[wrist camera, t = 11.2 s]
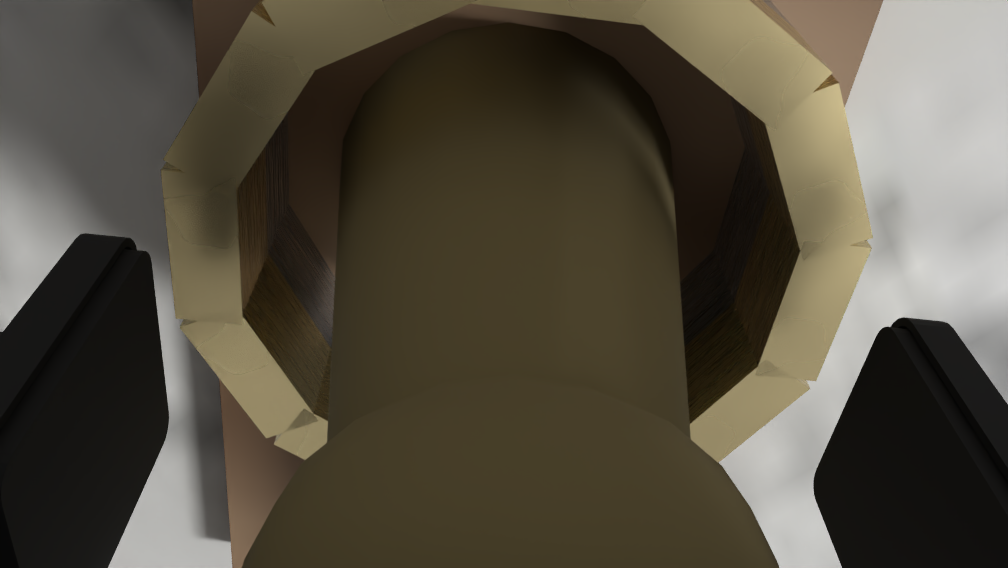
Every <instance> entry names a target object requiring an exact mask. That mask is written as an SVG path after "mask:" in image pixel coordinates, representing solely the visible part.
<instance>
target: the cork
mask: <svg viewBox="0 0 1008 568" xmlns="http://www.w3.org/2000/svg"><path fill="white" fill-rule="evenodd" d="M242 568H779V566H778V563H777V560H776V558H775V556H774V554H773V552H772V550H771V548H770V546H769V544H768V542H767V540H766V538H765V536H764V534H763V532H762V530H761V528H760V526H759V524H758V522H757V520H756V518H755V516H754V514H753V512H752V510H751V508H750V506H749V505H748V503H747V502H746V500H745V499H744V498H743V496H742V495H741V493H740V492H739V490H738V489H737V487H736V486H735V484H734V483H733V482H732V480H731V479H730V477H729V476H728V474H727V473H726V471H725V470H724V469H723V467H722V466H721V465H720V464H719V463H718V462H717V461H715V460H714V459H713V458H712V457H711V456H710V455H708V454H707V453H706V452H705V451H704V450H703V449H701V448H700V447H699V446H698V445H697V444H696V443H694V442H693V441H692V440H691V436H690V421H689V407H688V392H687V377H686V363H685V348H684V334H683V319H682V305H681V290H680V276H679V261H678V247H677V232H676V218H675V203H674V189H673V174H672V160H671V145H670V140H669V138H668V136H667V133H666V131H665V129H664V126H663V124H662V122H661V119H660V117H659V114H658V112H657V110H656V107H655V105H654V103H653V100H652V98H651V96H650V95H649V94H648V93H647V92H646V91H645V90H644V89H643V88H642V87H641V85H640V84H639V83H638V82H637V81H636V80H635V79H634V78H633V77H632V76H631V75H630V74H629V73H628V71H627V70H626V69H625V68H624V67H623V66H622V65H621V64H620V63H619V62H618V61H617V60H616V59H615V58H614V57H612V56H610V55H608V54H606V53H604V52H603V51H601V50H599V49H597V48H595V47H593V46H591V45H589V44H587V43H586V42H584V41H582V40H580V39H578V38H576V37H574V36H572V35H570V34H569V33H567V32H563V31H557V30H551V29H545V28H539V27H533V26H527V25H521V24H516V23H510V22H508V23H501V24H494V25H487V26H481V27H474V28H467V29H460V30H453V31H450V32H448V33H446V34H444V35H442V36H440V37H438V38H436V39H434V40H432V41H430V42H428V43H426V44H424V45H422V46H420V47H418V48H416V49H414V50H412V51H410V52H408V53H406V54H404V55H402V56H401V57H400V58H399V59H398V60H397V61H396V62H395V63H394V64H393V65H392V66H391V67H390V68H389V69H388V70H387V71H386V72H385V73H384V74H383V75H382V76H381V77H380V78H379V79H378V80H377V81H376V82H375V83H374V84H373V85H372V86H371V87H370V88H369V89H368V90H367V91H366V92H365V93H364V95H363V97H362V99H361V102H360V104H359V106H358V108H357V110H356V112H355V115H354V117H353V119H352V121H351V123H350V125H349V128H348V130H347V132H346V134H345V136H344V139H343V150H342V163H341V176H340V191H339V211H338V231H337V251H336V270H335V290H334V310H333V330H332V350H331V370H330V390H329V410H328V430H327V443H326V444H325V445H323V446H322V447H321V448H320V449H318V450H317V451H316V452H315V453H313V454H312V455H311V456H310V457H308V458H307V459H306V460H305V461H303V462H302V464H301V465H300V467H299V468H298V470H297V471H296V473H295V474H294V476H293V477H292V479H291V480H290V482H289V483H288V485H287V486H286V488H285V489H284V491H283V492H282V494H281V495H280V497H279V498H278V500H277V501H276V503H275V504H274V506H273V508H272V510H271V512H270V513H269V515H268V517H267V519H266V521H265V523H264V524H263V526H262V528H261V530H260V532H259V533H258V535H257V537H256V539H255V541H254V543H253V544H252V546H251V548H250V550H249V552H248V554H247V555H246V557H245V559H244V562H243V566H242Z"/></svg>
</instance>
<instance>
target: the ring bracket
mask: <svg viewBox="0 0 1008 568" xmlns="http://www.w3.org/2000/svg"><path fill="white" fill-rule="evenodd" d="M468 4H478V5H486V6H494V7H502V8H510V9H518V10H526V11H534V12H542V13H550V14H558V15H566V16H574V17H582V18H590V19H598V20H606V21H614V22H622V23H629V24H637V25H644V26H645V27H646V28H648V29H649V30H650V31H651V32H652V33H654V34H655V35H656V36H657V37H659V38H660V39H661V40H662V41H664V42H665V43H666V44H667V45H669V46H670V47H671V48H672V49H674V50H675V51H676V52H677V53H679V54H680V55H681V56H682V57H684V58H685V59H686V60H687V61H688V62H690V63H691V64H692V65H693V66H695V67H696V68H697V69H698V70H700V71H701V72H702V73H703V74H705V75H706V76H707V77H708V78H710V79H711V80H712V81H713V82H715V83H716V84H717V85H718V86H720V87H721V88H722V89H723V90H724V91H726V92H727V93H728V94H729V95H730V98H731V102H732V105H733V108H734V112H735V115H736V119H737V122H738V125H739V129H740V132H741V136H742V139H743V142H744V146H745V148H744V151H743V154H742V158H741V161H740V164H739V168H738V171H737V174H736V178H735V181H734V184H733V188H732V191H731V194H730V197H729V201H728V204H727V207H726V211H725V214H724V217H723V221H722V224H721V227H720V231H719V234H718V237H717V240H716V244H715V247H714V250H713V251H712V252H711V253H710V254H709V255H707V256H706V257H705V258H704V259H703V260H702V261H701V262H700V263H699V264H698V265H697V266H696V267H695V268H694V269H693V270H692V271H691V272H690V273H689V274H688V275H687V276H686V277H685V278H683V279H682V280H681V281H680V290H681V305H682V319H683V334H684V348H685V363H686V377H687V392H688V407H689V421H690V436H691V440H692V441H693V442H694V443H696V444H697V445H698V446H699V447H700V448H701V449H703V450H704V451H705V452H706V453H707V454H708V455H710V456H711V457H712V458H713V459H714V460H715V461H717V462H720V461H721V460H722V459H723V458H725V457H726V456H727V455H728V454H729V453H731V452H732V451H733V450H734V449H736V448H737V447H738V446H739V445H741V444H742V443H743V442H744V441H746V440H747V439H748V438H749V437H751V436H752V435H753V434H754V433H756V432H757V431H758V430H759V429H761V428H762V427H763V426H764V425H766V424H767V423H768V422H769V421H770V420H772V419H773V418H774V417H775V416H777V415H778V414H779V413H780V412H782V411H783V410H784V409H785V408H787V407H788V406H789V405H790V404H792V403H793V402H794V401H795V400H797V399H798V398H799V397H800V396H802V395H803V394H804V393H805V392H807V391H808V390H809V389H810V388H809V386H808V383H807V381H806V380H810V381H816V380H817V377H818V375H819V373H820V370H821V368H822V365H823V363H824V361H825V358H826V356H827V354H828V351H829V349H830V346H831V344H832V342H833V339H834V337H835V334H836V332H837V330H838V327H839V325H840V323H841V320H842V318H843V315H844V313H845V311H846V308H847V306H848V303H849V301H850V299H851V296H852V294H853V292H854V289H855V287H856V284H857V282H858V280H859V277H860V275H861V272H862V270H863V268H864V265H865V263H866V260H867V258H868V256H869V253H870V251H871V249H872V248H871V246H870V245H869V243H868V242H867V240H868V239H871V238H873V236H872V232H871V227H870V222H869V218H868V213H867V209H866V204H865V200H864V195H863V191H862V186H861V181H860V177H859V172H858V168H857V163H856V159H855V154H854V150H853V145H852V140H851V136H850V131H849V127H848V122H847V118H846V113H845V109H844V104H843V99H842V95H841V90H840V86H839V82H838V81H837V80H836V79H835V78H834V77H833V75H832V73H833V72H832V71H831V70H830V69H829V68H828V66H827V65H826V64H825V63H824V62H823V61H822V60H821V58H820V57H819V56H818V55H817V54H816V53H815V51H814V50H813V49H812V48H811V47H810V46H809V45H808V43H807V42H806V41H805V40H804V39H803V38H802V36H801V35H800V34H799V33H798V32H797V31H796V30H795V28H794V27H793V26H792V25H791V24H790V23H789V21H788V20H787V19H786V18H785V17H784V16H783V15H782V13H781V12H780V11H779V10H778V9H777V8H776V6H775V5H774V4H773V3H772V2H771V1H770V0H260V1H259V2H258V3H257V5H256V6H255V7H254V8H253V10H252V11H251V13H250V14H249V16H248V18H247V19H246V21H245V23H244V24H243V26H242V28H241V29H240V31H239V33H238V35H237V36H236V38H235V40H234V41H233V43H232V45H231V46H230V48H229V50H228V51H227V53H226V55H225V56H224V58H223V60H222V61H221V63H220V65H219V66H218V68H217V70H216V71H215V73H214V75H213V76H212V78H211V80H210V81H209V83H208V85H207V87H206V88H205V90H204V92H203V93H202V95H201V97H200V98H199V100H198V102H197V103H196V105H195V107H194V108H193V110H192V112H191V113H190V115H189V117H188V118H187V120H186V122H185V123H184V125H183V127H182V128H181V130H180V132H179V134H178V135H177V137H176V139H175V140H174V142H173V144H172V145H171V147H170V149H169V150H168V152H167V154H166V155H165V157H164V159H163V160H164V161H166V164H165V165H164V166H163V168H162V169H161V179H162V188H163V198H164V208H165V218H166V228H167V237H168V247H169V257H170V267H171V277H172V287H173V296H174V306H175V316H176V319H184V320H183V322H182V324H181V326H180V329H181V330H182V331H183V333H184V334H185V335H186V336H187V338H188V339H189V340H190V341H191V343H192V344H193V345H194V347H195V348H196V349H197V350H198V352H199V353H200V354H201V356H202V357H203V358H204V359H205V361H206V362H207V363H208V364H209V366H210V367H211V368H212V370H213V371H214V372H215V373H216V375H217V376H218V377H219V379H220V380H221V381H222V382H223V384H224V385H225V386H226V388H227V389H228V390H229V391H230V393H231V394H232V395H233V396H234V398H235V399H236V400H237V402H238V403H239V404H240V405H241V407H242V408H243V409H244V411H245V412H246V413H247V414H248V416H249V417H250V418H251V420H252V421H253V422H254V423H255V425H256V426H257V427H258V428H259V430H260V431H261V432H262V434H263V435H264V436H265V437H266V438H269V437H272V436H275V435H277V436H276V439H275V442H274V445H276V446H278V447H280V448H282V449H284V450H286V451H288V452H290V453H292V454H294V455H296V456H298V457H300V458H302V459H304V460H306V459H307V458H308V457H310V456H311V455H312V454H313V453H315V452H316V451H317V450H318V449H320V448H321V447H322V446H323V445H325V444H326V443H327V430H328V410H329V390H330V370H331V350H332V330H333V310H334V290H335V276H334V274H333V272H332V271H331V269H330V268H329V266H328V265H327V263H326V261H325V260H324V258H323V257H322V255H321V253H320V252H319V250H318V249H317V247H316V246H315V244H314V242H313V241H312V239H311V238H310V236H309V235H308V233H307V231H306V230H305V228H304V227H303V225H302V223H301V222H300V220H299V219H298V217H297V216H296V214H295V212H294V211H293V209H292V208H291V206H290V205H289V163H288V111H289V109H290V108H291V106H292V105H293V103H294V102H295V100H296V99H297V97H298V96H299V94H300V93H301V91H302V90H303V88H304V87H305V85H306V84H307V82H308V81H309V79H310V78H311V76H312V74H313V73H314V71H315V70H316V69H319V68H321V67H323V66H326V65H328V64H330V63H333V62H335V61H337V60H340V59H342V58H344V57H347V56H349V55H351V54H354V53H356V52H358V51H361V50H363V49H365V48H368V47H370V46H372V45H375V44H377V43H379V42H382V41H384V40H386V39H389V38H391V37H393V36H396V35H398V34H400V33H403V32H405V31H407V30H410V29H412V28H414V27H417V26H419V25H421V24H424V23H426V22H428V21H431V20H433V19H435V18H438V17H440V16H442V15H445V14H447V13H449V12H452V11H454V10H456V9H459V8H461V7H463V6H466V5H468Z"/></svg>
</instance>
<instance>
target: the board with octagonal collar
mask: <svg viewBox="0 0 1008 568" xmlns="http://www.w3.org/2000/svg"><path fill="white" fill-rule="evenodd" d="M259 1H260V0H192V5H193V19H194V33H195V47H196V61H197V75H198V89H199V98H200V97H201V95H202V93H203V92H204V90H205V88H206V87H207V85H208V83H209V81H210V80H211V78H212V76H213V75H214V73H215V71H216V70H217V68H218V66H219V65H220V63H221V61H222V60H223V58H224V56H225V55H226V53H227V51H228V50H229V48H230V46H231V45H232V43H233V41H234V40H235V38H236V36H237V35H238V33H239V31H240V29H241V28H242V26H243V24H244V23H245V21H246V19H247V18H248V16H249V14H250V13H251V11H252V10H253V8H254V7H255V6H256V5H257V3H258V2H259ZM770 1H771V2H772V3H773V4H774V5H775V6H776V8H777V9H778V10H779V11H780V12H781V13H782V15H783V16H784V17H785V18H786V19H787V20H788V21H789V23H790V24H791V25H792V26H793V27H794V28H795V30H796V31H797V32H798V33H799V34H800V35H801V36H802V38H803V39H804V40H805V41H806V42H807V43H808V45H809V46H810V47H811V48H812V49H813V50H814V51H815V53H816V54H817V55H818V56H819V57H820V58H821V60H822V61H823V62H824V63H825V64H826V65H827V66H828V68H829V69H830V70H831V71H832V72H833V73H832V75H833V77H834V78H835V79H836V80H837V81H838V82H839V86H840V90H841V95H842V99H843V104H844V108H845V105H846V102H847V99H848V97H849V94H850V91H851V88H852V85H853V83H854V80H855V77H856V74H857V72H858V69H859V66H860V63H861V61H862V58H863V55H864V52H865V49H866V47H867V44H868V41H869V38H870V36H871V33H872V30H873V27H874V25H875V22H876V19H877V16H878V14H879V11H880V8H881V5H882V2H883V0H770ZM508 22H510V23H516V24H521V25H527V26H533V27H539V28H545V29H551V30H557V31H563V32H567V33H569V34H570V35H572V36H574V37H576V38H578V39H580V40H582V41H584V42H586V43H587V44H589V45H591V46H593V47H595V48H597V49H599V50H601V51H603V52H604V53H606V54H608V55H610V56H612V57H614V58H615V59H616V60H617V61H618V62H619V63H620V64H621V65H622V66H623V67H624V68H625V69H626V70H627V71H628V73H629V74H630V75H631V76H632V77H633V78H634V79H635V80H636V81H637V82H638V83H639V84H640V85H641V87H642V88H643V89H644V90H645V91H646V92H647V93H648V94H649V95H650V96H651V98H652V100H653V103H654V105H655V107H656V110H657V112H658V114H659V117H660V119H661V122H662V124H663V126H664V129H665V131H666V133H667V136H668V138H669V140H670V145H671V160H672V174H673V189H674V203H675V218H676V232H677V247H678V261H679V276H680V281H681V280H682V279H683V278H685V277H686V276H687V275H688V274H689V273H690V272H691V271H692V270H693V269H694V268H695V267H696V266H697V265H698V264H699V263H700V262H701V261H702V260H703V259H704V258H705V257H706V256H707V255H709V254H710V253H711V252H712V251H713V250H714V247H715V244H716V240H717V237H718V234H719V231H720V227H721V224H722V221H723V217H724V214H725V211H726V207H727V204H728V201H729V197H730V194H731V191H732V188H733V184H734V181H735V178H736V174H737V171H738V168H739V164H740V161H741V158H742V154H743V151H744V148H745V146H744V142H743V139H742V136H741V132H740V129H739V125H738V122H737V119H736V115H735V112H734V108H733V105H732V102H731V98H730V95H729V94H728V93H727V92H726V91H724V90H723V89H722V88H721V87H720V86H718V85H717V84H716V83H715V82H713V81H712V80H711V79H710V78H708V77H707V76H706V75H705V74H703V73H702V72H701V71H700V70H698V69H697V68H696V67H695V66H693V65H692V64H691V63H690V62H688V61H687V60H686V59H685V58H684V57H682V56H681V55H680V54H679V53H677V52H676V51H675V50H674V49H672V48H671V47H670V46H669V45H667V44H666V43H665V42H664V41H662V40H661V39H660V38H659V37H657V36H656V35H655V34H654V33H652V32H651V31H650V30H649V29H648V28H646V27H645V26H644V25H637V24H629V23H622V22H614V21H606V20H598V19H590V18H582V17H574V16H566V15H558V14H550V13H542V12H534V11H526V10H518V9H510V8H502V7H494V6H486V5H478V4H468V5H466V6H463V7H461V8H459V9H456V10H454V11H452V12H449V13H447V14H445V15H442V16H440V17H438V18H435V19H433V20H431V21H428V22H426V23H424V24H421V25H419V26H417V27H414V28H412V29H410V30H407V31H405V32H403V33H400V34H398V35H396V36H393V37H391V38H389V39H386V40H384V41H382V42H379V43H377V44H375V45H372V46H370V47H368V48H365V49H363V50H361V51H358V52H356V53H354V54H351V55H349V56H347V57H344V58H342V59H340V60H337V61H335V62H333V63H330V64H328V65H326V66H323V67H321V68H319V69H316V70H315V71H314V73H313V74H312V76H311V78H310V79H309V81H308V82H307V84H306V85H305V87H304V88H303V90H302V91H301V93H300V94H299V96H298V97H297V99H296V100H295V102H294V103H293V105H292V106H291V108H290V109H289V111H288V163H289V205H290V206H291V208H292V209H293V211H294V212H295V214H296V216H297V217H298V219H299V220H300V222H301V223H302V225H303V227H304V228H305V230H306V231H307V233H308V235H309V236H310V238H311V239H312V241H313V242H314V244H315V246H316V247H317V249H318V250H319V252H320V253H321V255H322V257H323V258H324V260H325V261H326V263H327V265H328V266H329V268H330V269H331V271H332V272H333V274H334V276H335V270H336V251H337V231H338V211H339V191H340V176H341V163H342V150H343V139H344V136H345V134H346V132H347V130H348V128H349V125H350V123H351V121H352V119H353V117H354V115H355V112H356V110H357V108H358V106H359V104H360V102H361V99H362V97H363V95H364V93H365V92H366V91H367V90H368V89H369V88H370V87H371V86H372V85H373V84H374V83H375V82H376V81H377V80H378V79H379V78H380V77H381V76H382V75H383V74H384V73H385V72H386V71H387V70H388V69H389V68H390V67H391V66H392V65H393V64H394V63H395V62H396V61H397V60H398V59H399V58H400V57H401V56H402V55H404V54H406V53H408V52H410V51H412V50H414V49H416V48H418V47H420V46H422V45H424V44H426V43H428V42H430V41H432V40H434V39H436V38H438V37H440V36H442V35H444V34H446V33H448V32H450V31H453V30H460V29H467V28H474V27H481V26H487V25H494V24H501V23H508ZM219 384H220V398H221V412H222V426H223V440H224V454H225V468H226V482H227V496H228V510H229V524H230V538H231V552H232V566H233V568H242V566H243V562H244V559H245V557H246V555H247V554H248V552H249V550H250V548H251V546H252V544H253V543H254V541H255V539H256V537H257V535H258V533H259V532H260V530H261V528H262V526H263V524H264V523H265V521H266V519H267V517H268V515H269V513H270V512H271V510H272V508H273V506H274V504H275V503H276V501H277V500H278V498H279V497H280V495H281V494H282V492H283V491H284V489H285V488H286V486H287V485H288V483H289V482H290V480H291V479H292V477H293V476H294V474H295V473H296V471H297V470H298V468H299V467H300V465H301V464H302V462H303V461H305V460H304V459H302V458H300V457H298V456H296V455H294V454H292V453H290V452H288V451H286V450H284V449H282V448H280V447H278V446H276V445H274V442H275V439H276V436H277V435H275V436H272V437H269V438H266V437H265V436H264V435H263V434H262V432H261V431H260V430H259V428H258V427H257V426H256V425H255V423H254V422H253V421H252V420H251V418H250V417H249V416H248V414H247V413H246V412H245V411H244V409H243V408H242V407H241V405H240V404H239V403H238V402H237V400H236V399H235V398H234V396H233V395H232V394H231V393H230V391H229V390H228V389H227V388H226V386H225V385H224V384H223V382H222V381H221V380H220V379H219Z"/></svg>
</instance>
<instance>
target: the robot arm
mask: <svg viewBox="0 0 1008 568" xmlns="http://www.w3.org/2000/svg"><path fill="white" fill-rule="evenodd" d="M168 422H169V411H168V402H167V394H166V385H165V376H164V367H163V359H162V350H161V341H160V332H159V324H158V315H157V306H156V297H155V289H154V280H153V271H152V263H151V258H150V255H149V253H148V252H146V251H137V248H136V245H135V243H134V241H133V240H132V239H131V238H125V237H115V236H106V235H96V234H86V233H85V234H80V235H79V236H78V237H77V238H76V239H75V240H74V242H73V243H72V244H71V246H70V247H69V248H68V249H67V251H66V252H65V253H64V255H63V256H62V257H61V258H60V260H59V261H58V262H57V263H56V265H55V266H54V267H53V269H52V270H51V271H50V272H49V274H48V275H47V276H46V278H45V279H44V280H43V281H42V283H41V284H40V285H39V286H38V288H37V289H36V290H35V292H34V293H33V294H32V295H31V297H30V298H29V299H28V301H27V302H26V303H25V304H24V306H23V307H22V308H21V310H20V311H19V312H18V313H17V315H16V316H15V317H14V318H13V320H12V321H11V322H10V324H9V325H8V326H7V327H6V329H5V330H4V331H3V332H0V568H108V566H109V564H110V562H111V559H112V557H113V555H114V553H115V551H116V548H117V546H118V544H119V542H120V539H121V537H122V535H123V533H124V531H125V528H126V526H127V524H128V522H129V519H130V517H131V515H132V513H133V511H134V508H135V506H136V504H137V502H138V499H139V497H140V495H141V493H142V491H143V488H144V486H145V484H146V482H147V479H148V477H149V475H150V473H151V471H152V468H153V466H154V464H155V462H156V459H157V457H158V455H159V453H160V451H161V448H162V446H163V444H164V441H165V438H166V434H167V430H168ZM814 495H815V499H816V502H817V505H818V507H819V510H820V512H821V515H822V517H823V520H824V522H825V525H826V527H827V530H828V533H829V535H830V538H831V540H832V543H833V545H834V548H835V550H836V553H837V556H838V558H839V561H840V563H841V566H842V568H1008V404H1007V403H1006V402H1005V400H1004V399H1003V397H1002V396H1001V395H1000V393H999V392H998V390H997V389H996V388H995V386H994V385H993V383H992V382H991V381H990V379H989V378H988V376H987V375H986V374H985V372H984V371H983V369H982V368H981V367H980V365H979V364H978V362H977V361H976V360H975V358H974V357H973V355H972V354H971V353H970V351H969V350H968V348H967V347H966V346H965V344H964V343H963V341H962V340H961V339H960V337H959V336H958V334H957V333H956V332H955V330H954V329H953V328H952V327H951V326H950V325H949V324H948V323H946V322H942V321H932V320H923V319H913V318H900V319H897V320H896V321H895V322H894V323H893V324H892V326H891V327H885V328H882V329H881V330H880V331H879V333H878V334H877V336H876V338H875V341H874V343H873V345H872V347H871V349H870V352H869V354H868V356H867V358H866V361H865V363H864V365H863V367H862V369H861V372H860V374H859V376H858V378H857V381H856V383H855V385H854V387H853V389H852V392H851V394H850V396H849V398H848V401H847V403H846V405H845V407H844V409H843V412H842V414H841V416H840V418H839V421H838V423H837V425H836V427H835V429H834V432H833V434H832V436H831V438H830V441H829V443H828V445H827V447H826V449H825V452H824V454H823V456H822V458H821V461H820V463H819V465H818V467H817V470H816V473H815V476H814Z"/></svg>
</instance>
